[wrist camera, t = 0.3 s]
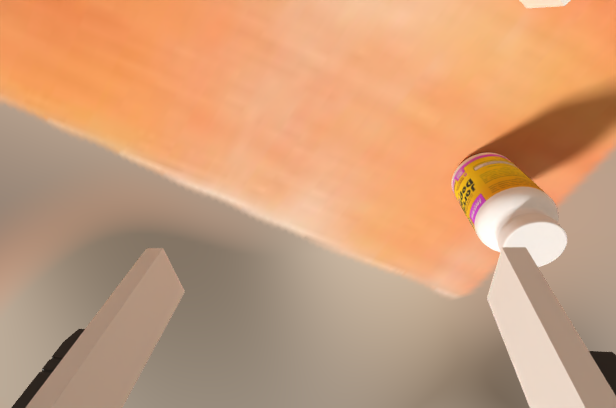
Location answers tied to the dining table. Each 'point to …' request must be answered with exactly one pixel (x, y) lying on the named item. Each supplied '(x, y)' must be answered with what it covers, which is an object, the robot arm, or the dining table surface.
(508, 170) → the supplement bottle
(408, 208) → the dining table surface
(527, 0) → the bottle stand
